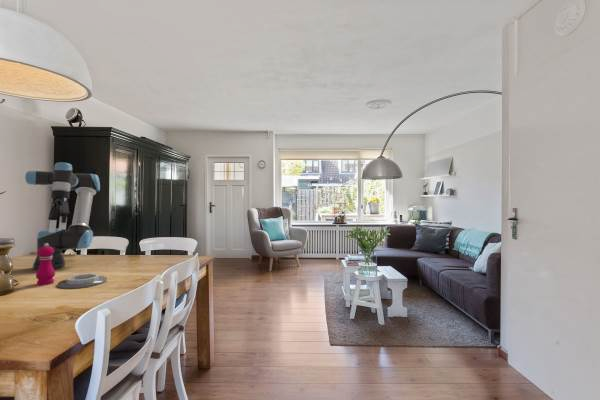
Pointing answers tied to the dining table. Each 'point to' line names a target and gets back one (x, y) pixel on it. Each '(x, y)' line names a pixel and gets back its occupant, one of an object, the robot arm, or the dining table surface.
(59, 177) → the robot arm
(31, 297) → the dining table surface
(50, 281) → the pepper mill
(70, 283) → the ring seat
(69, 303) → the dining table surface
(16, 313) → the dining table surface
